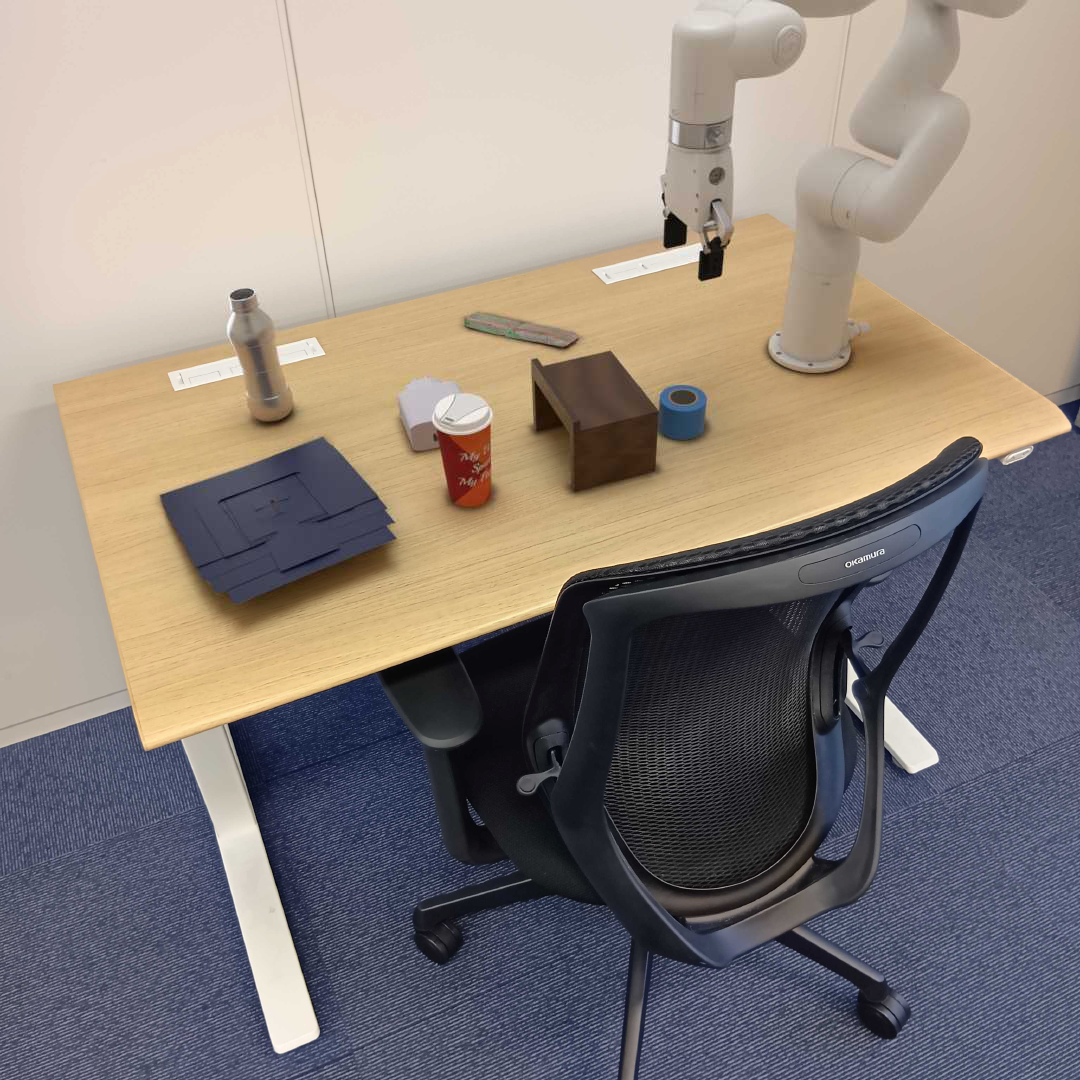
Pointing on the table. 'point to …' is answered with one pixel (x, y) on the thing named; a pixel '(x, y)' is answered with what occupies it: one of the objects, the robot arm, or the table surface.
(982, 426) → the table surface
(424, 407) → the charger
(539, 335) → the map
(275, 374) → the silver metal bottle
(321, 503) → the navy flat layered slab
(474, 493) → the paper cup
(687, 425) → the tape roll
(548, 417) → the desk shelf
